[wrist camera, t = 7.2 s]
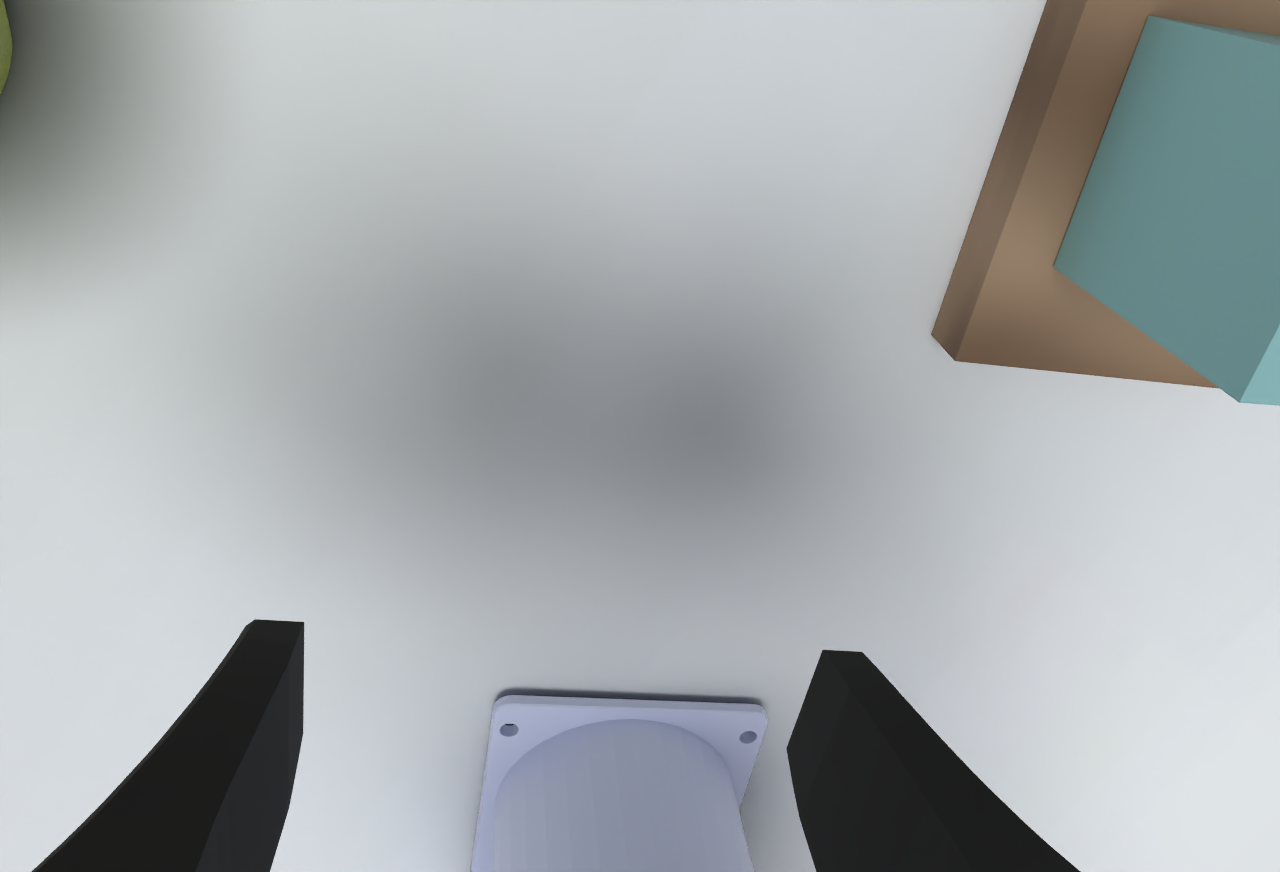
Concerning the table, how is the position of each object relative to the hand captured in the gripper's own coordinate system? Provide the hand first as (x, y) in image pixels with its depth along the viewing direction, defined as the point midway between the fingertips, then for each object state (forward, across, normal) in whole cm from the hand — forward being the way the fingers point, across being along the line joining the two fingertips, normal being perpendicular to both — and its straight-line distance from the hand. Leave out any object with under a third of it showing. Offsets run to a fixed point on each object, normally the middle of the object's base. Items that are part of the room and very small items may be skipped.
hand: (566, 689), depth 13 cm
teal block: (+8, -13, -7) cm, 17 cm away
